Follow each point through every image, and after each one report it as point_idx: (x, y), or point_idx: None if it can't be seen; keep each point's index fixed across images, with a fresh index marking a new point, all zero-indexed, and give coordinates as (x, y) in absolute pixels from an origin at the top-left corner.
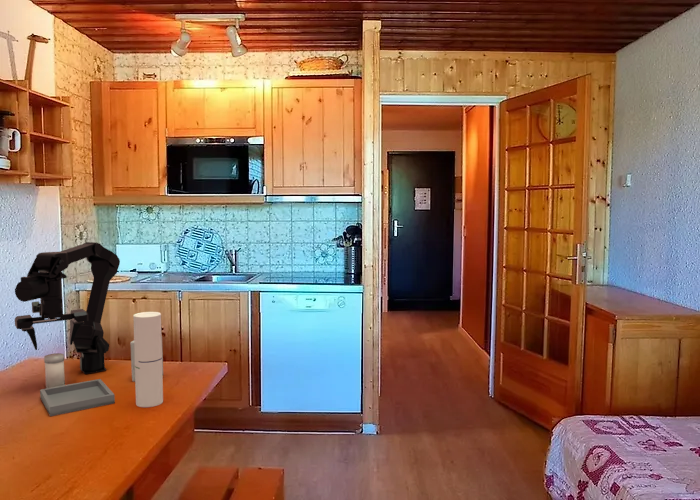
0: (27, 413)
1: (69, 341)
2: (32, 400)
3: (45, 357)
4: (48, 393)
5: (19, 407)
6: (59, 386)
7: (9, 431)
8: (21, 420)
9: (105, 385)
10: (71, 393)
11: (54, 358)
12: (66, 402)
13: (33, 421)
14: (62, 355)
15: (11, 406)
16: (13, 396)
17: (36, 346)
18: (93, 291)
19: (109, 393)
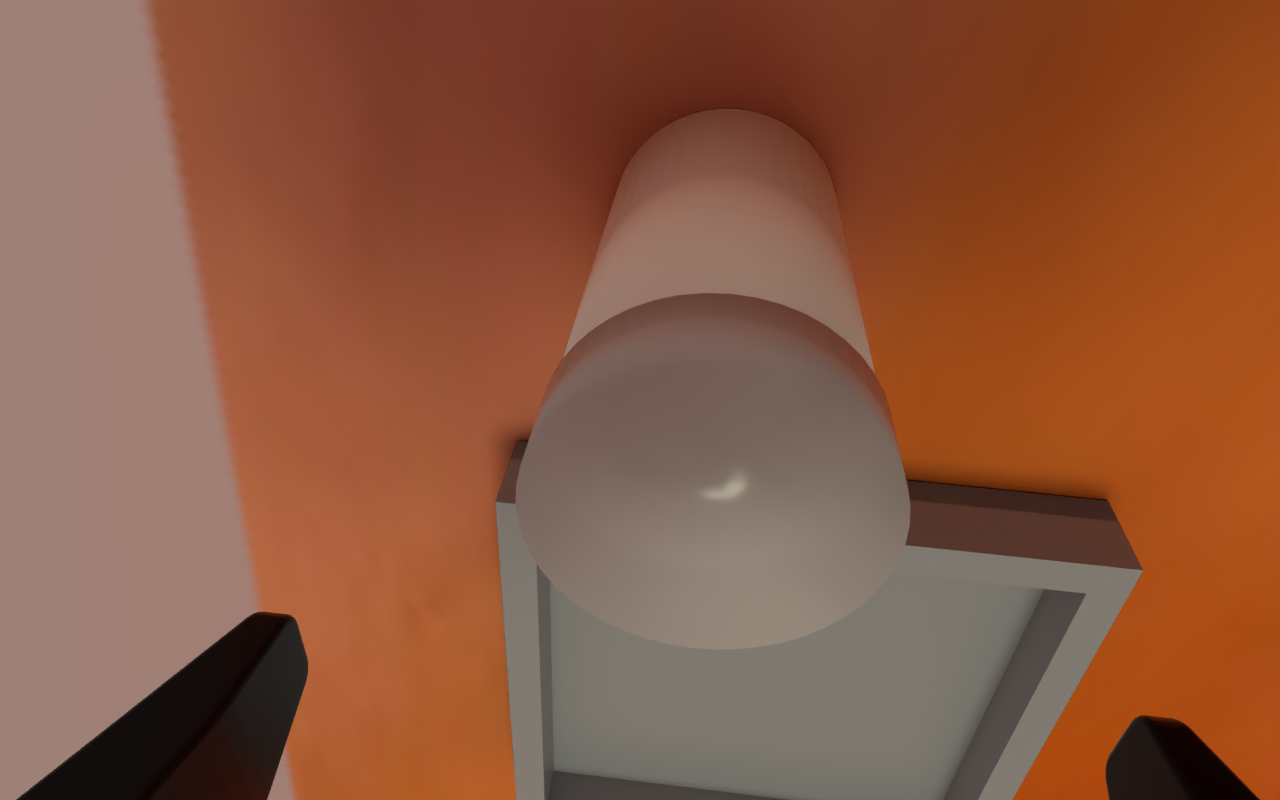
0: (402, 654)
1: (1176, 789)
2: (447, 447)
3: (535, 531)
4: None
5: (343, 529)
6: None
7: (312, 791)
8: (367, 719)
9: (1041, 735)
10: None
11: (672, 636)
12: (667, 704)
13: (434, 763)
14: (849, 594)
15: (278, 474)
16: (264, 218)
17: (258, 782)
18: None
19: None
